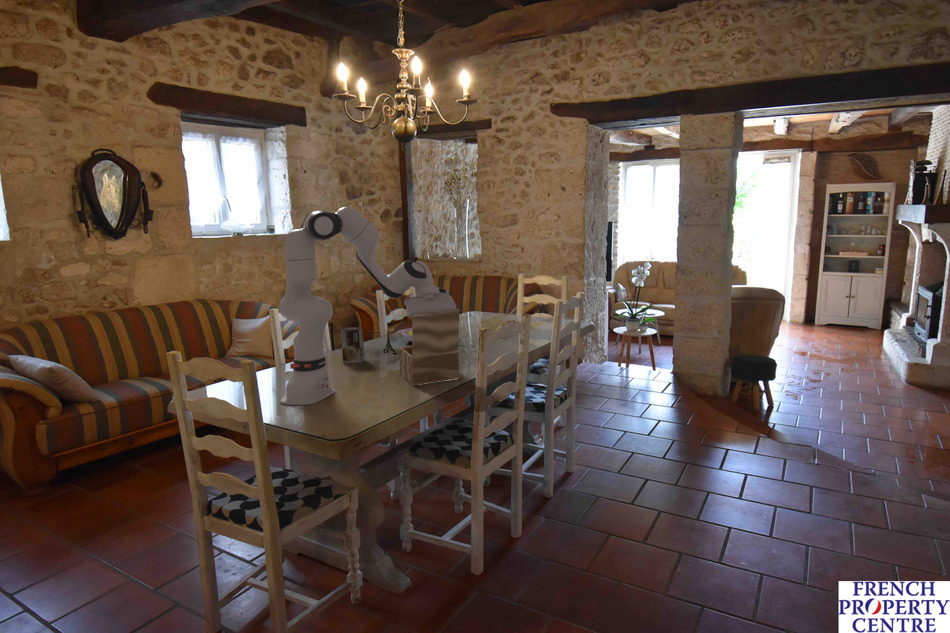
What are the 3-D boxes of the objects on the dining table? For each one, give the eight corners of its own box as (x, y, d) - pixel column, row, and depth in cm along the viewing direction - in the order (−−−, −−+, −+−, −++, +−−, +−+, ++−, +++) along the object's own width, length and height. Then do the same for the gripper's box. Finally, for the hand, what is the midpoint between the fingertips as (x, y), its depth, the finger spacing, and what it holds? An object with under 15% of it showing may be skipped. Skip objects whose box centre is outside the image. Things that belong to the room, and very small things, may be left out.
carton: (400, 374, 251) (398, 347, 248) (443, 368, 258) (442, 342, 256) (412, 386, 232) (411, 357, 230) (459, 379, 240) (458, 351, 237)
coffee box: (365, 359, 277) (363, 327, 274) (361, 363, 271) (359, 329, 268) (346, 359, 278) (344, 327, 275) (342, 363, 272) (340, 329, 269)
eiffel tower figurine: (370, 355, 289) (368, 328, 287) (379, 350, 299) (377, 325, 296) (398, 356, 285) (396, 329, 283) (405, 351, 294) (404, 325, 292)
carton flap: (412, 312, 224) (412, 313, 224) (459, 308, 231) (459, 309, 231) (412, 355, 230) (412, 356, 230) (457, 350, 237) (458, 350, 237)
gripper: (403, 293, 231) (411, 321, 224) (451, 289, 238) (461, 316, 231) (401, 302, 236) (409, 330, 229) (448, 298, 243) (457, 325, 236)
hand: (435, 323), depth 230 cm, fingers open, 8 cm apart
